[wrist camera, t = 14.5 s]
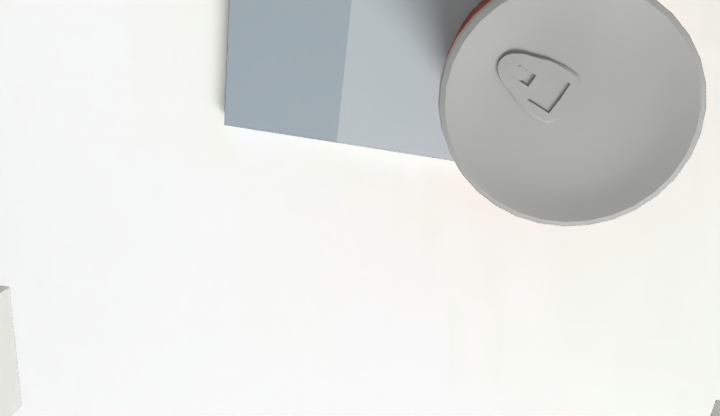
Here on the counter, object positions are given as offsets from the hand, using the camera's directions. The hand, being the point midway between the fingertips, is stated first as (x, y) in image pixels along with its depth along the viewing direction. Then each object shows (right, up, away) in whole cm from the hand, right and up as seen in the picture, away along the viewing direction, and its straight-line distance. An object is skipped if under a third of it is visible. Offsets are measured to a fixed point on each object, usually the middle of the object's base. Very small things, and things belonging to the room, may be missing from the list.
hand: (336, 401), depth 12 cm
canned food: (+9, +10, +18) cm, 22 cm away
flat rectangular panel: (+3, +11, +19) cm, 22 cm away
